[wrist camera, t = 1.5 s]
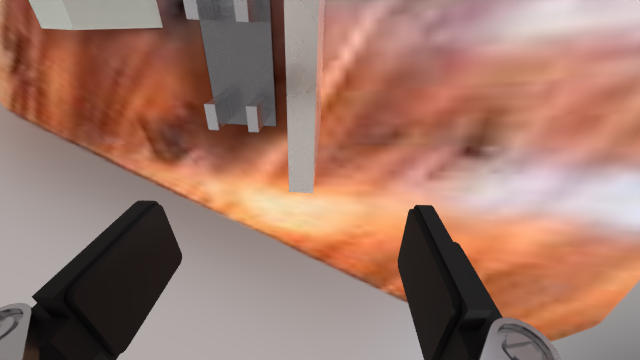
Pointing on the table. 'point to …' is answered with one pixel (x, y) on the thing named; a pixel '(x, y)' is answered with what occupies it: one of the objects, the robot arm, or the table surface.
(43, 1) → the door panel
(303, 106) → the white boxy piece
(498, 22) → the table surface
